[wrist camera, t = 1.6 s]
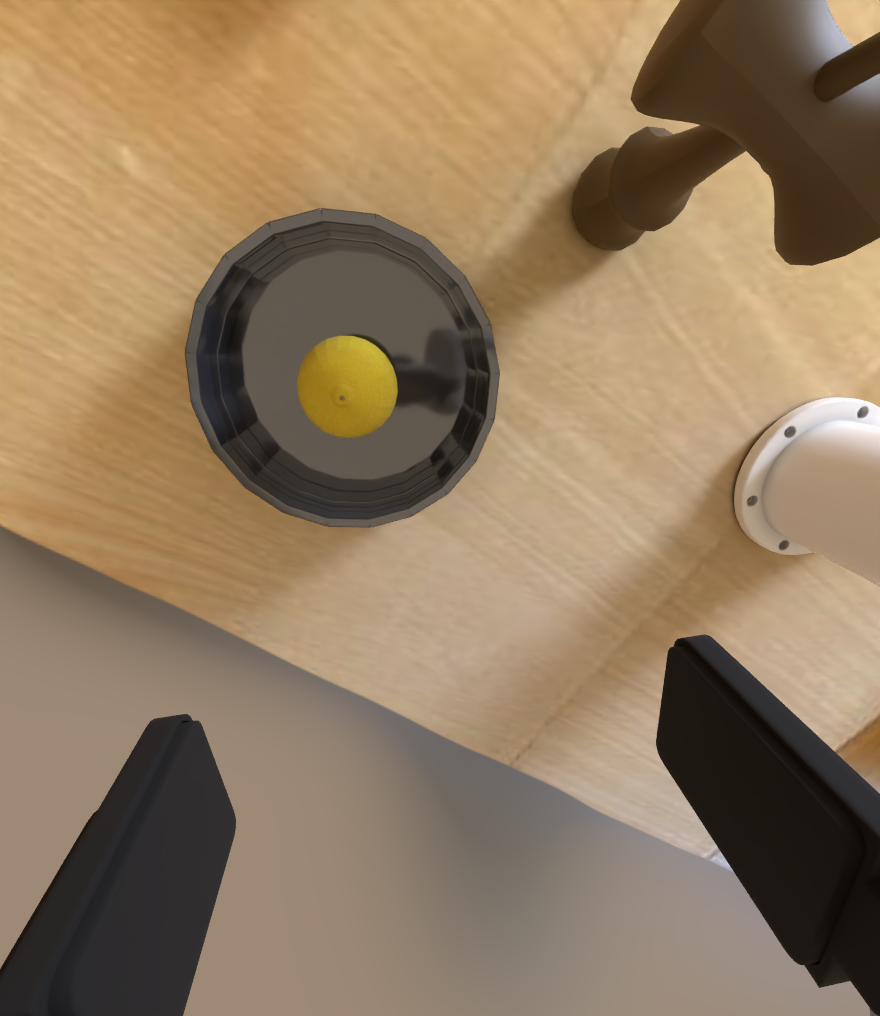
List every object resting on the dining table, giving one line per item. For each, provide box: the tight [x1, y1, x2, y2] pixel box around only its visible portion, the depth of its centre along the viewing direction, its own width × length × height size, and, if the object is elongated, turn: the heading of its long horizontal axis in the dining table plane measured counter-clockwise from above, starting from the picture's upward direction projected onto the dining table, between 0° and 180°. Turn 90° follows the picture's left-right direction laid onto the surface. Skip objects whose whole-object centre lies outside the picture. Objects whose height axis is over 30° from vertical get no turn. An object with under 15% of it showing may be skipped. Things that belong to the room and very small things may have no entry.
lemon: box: [297, 336, 398, 438], centre depth 26 cm, size 6×6×8 cm
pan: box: [185, 208, 500, 527], centre depth 28 cm, size 17×17×4 cm
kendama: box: [572, 0, 880, 266], centre depth 18 cm, size 6×10×20 cm, turn 59°
